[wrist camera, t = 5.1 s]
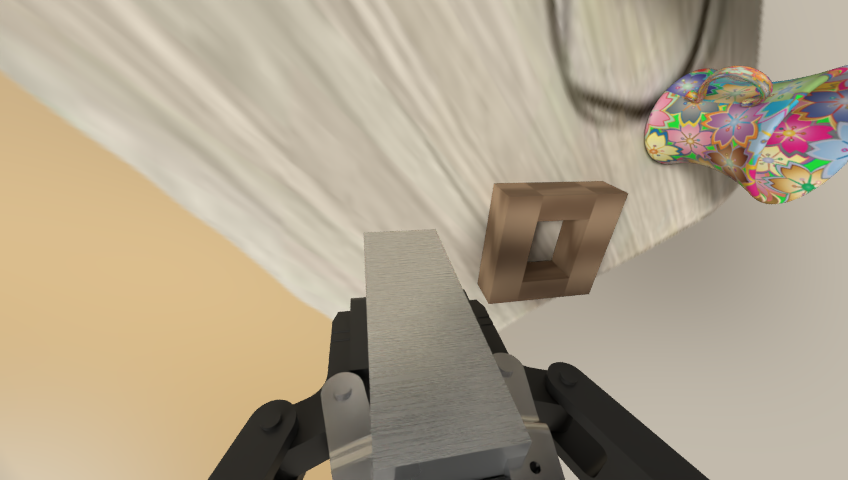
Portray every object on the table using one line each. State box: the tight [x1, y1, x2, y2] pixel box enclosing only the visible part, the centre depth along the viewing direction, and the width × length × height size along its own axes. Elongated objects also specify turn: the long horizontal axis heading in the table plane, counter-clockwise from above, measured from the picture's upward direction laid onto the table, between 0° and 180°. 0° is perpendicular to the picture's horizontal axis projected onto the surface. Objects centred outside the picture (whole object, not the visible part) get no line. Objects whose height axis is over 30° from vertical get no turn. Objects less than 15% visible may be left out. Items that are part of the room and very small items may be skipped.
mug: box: [645, 65, 848, 204], centre depth 25 cm, size 12×9×11 cm
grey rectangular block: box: [364, 229, 532, 480], centre depth 13 cm, size 7×4×10 cm, turn 178°
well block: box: [478, 181, 628, 304], centre depth 32 cm, size 12×12×4 cm
